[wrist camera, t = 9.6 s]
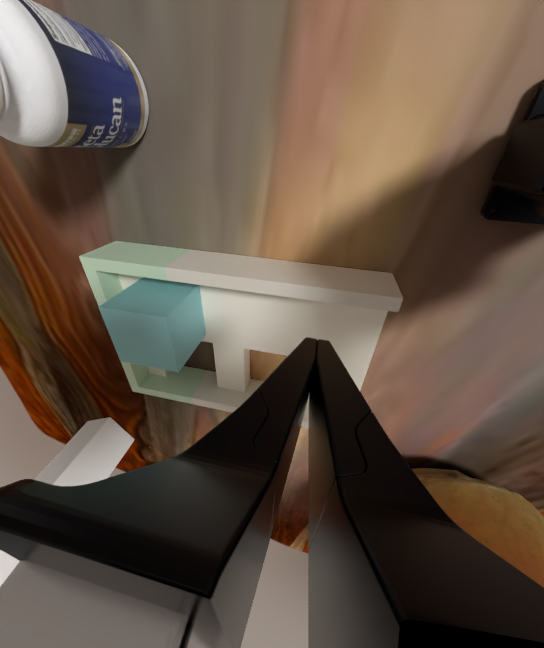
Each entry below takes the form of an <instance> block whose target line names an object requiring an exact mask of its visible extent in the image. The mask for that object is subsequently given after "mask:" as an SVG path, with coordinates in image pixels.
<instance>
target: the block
mask: <svg viewBox="0 0 544 648" xmlns="http://www.w3.org/2000/svg"><path fill="white" fill-rule="evenodd" d="M99 310H100V312H101V315H102V317H103V320H104V322H105V325H106V327H107V330H108V332H109V335H110V337H111V339H112V342H113V344H114V347H115V349H116V352H117V354H118V357H119V359H120V361H121V362H127V363H132V364H137V365H142V366H148V367H153V368H158V369H163V370H169V371H174V372H180V370H181V369H182V367H183V366H184V365H185V363H186V362H187V360H188V359H189V358H190V356H191V355H192V353H193V352H194V351H195V349H196V348H197V346H198V345H199V343H200V342H201V341H202V339H203V338H204V336H205V335H206V329H205V322H204V315H203V307H202V300H201V293H200V286H199V285H196V284H189V283H182V282H175V281H167V280H160V279H153V278H146V277H143V278H141V279H140V280H138V281H137V282H135V283H134V284H132V285H131V286H129V287H128V288H126V289H125V290H123V291H122V292H120V293H119V294H117V295H115V296H114V297H112V298H111V299H109V300H108V301H106V302H105V303H103V304H102V305H100V306H99Z"/></svg>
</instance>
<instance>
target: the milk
mask: <svg viewBox="0 0 544 648" xmlns="http://www.w3.org/2000/svg"><path fill="white" fill-rule="evenodd" d="M134 440H135V439H134V438H133V437H132V436H130V435H129V434H128V433H127V432H126V431H125V430H124V429H123V428H122V427H121V426H120V425H118V424H117V423H116V422H115V421H114V420H113V419H112V418H111V417H108V418H102V419H96V420H91V421H87V422H86V423H85V425H84V426H83V427H82V428H81V429H80V430H79V431H78V432H77V433H76V434H75V435H74V437H73V438H72V439H71V440H70V441H69V442H68V443H67V444H66V445H65V446H64V447H63V448H62V450H61V451H60V452H59V453H58V454H57V455H56V456H55V457H54V458H53V459H52V461H51V462H50V463H49V464H48V465H47V466H46V467H45V468H44V469H43V470H42V471H41V472H40V473H39V475H38V476H37V477H36V478H35V479H34V480H37V481H41V482H45V483H48V484H52V485H57V486H77V485H85V484H89V483H93V482H97V481H100V480H104V479H107V478H108V477H109V476H110V474H111V473H112V472H113V470H114V469H115V467H116V466H117V464H118V463H119V462H120V460H121V459H122V457H123V456H124V454H125V453H126V452H127V450H128V449H129V447H130V446H131V444H132V443H133V441H134ZM19 562H20V561H19V560H17V559H16V558H14V557H12V556H10V555H9V554H7V553H5V552H3V551H2V550H0V586H1V585H2V584H3V583H4V581H5V580H6V579H7V577H8V576H9V575H10V573H11V572H12V571H13V570H14V568H15V567H16V566H17V564H18V563H19Z"/></svg>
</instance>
